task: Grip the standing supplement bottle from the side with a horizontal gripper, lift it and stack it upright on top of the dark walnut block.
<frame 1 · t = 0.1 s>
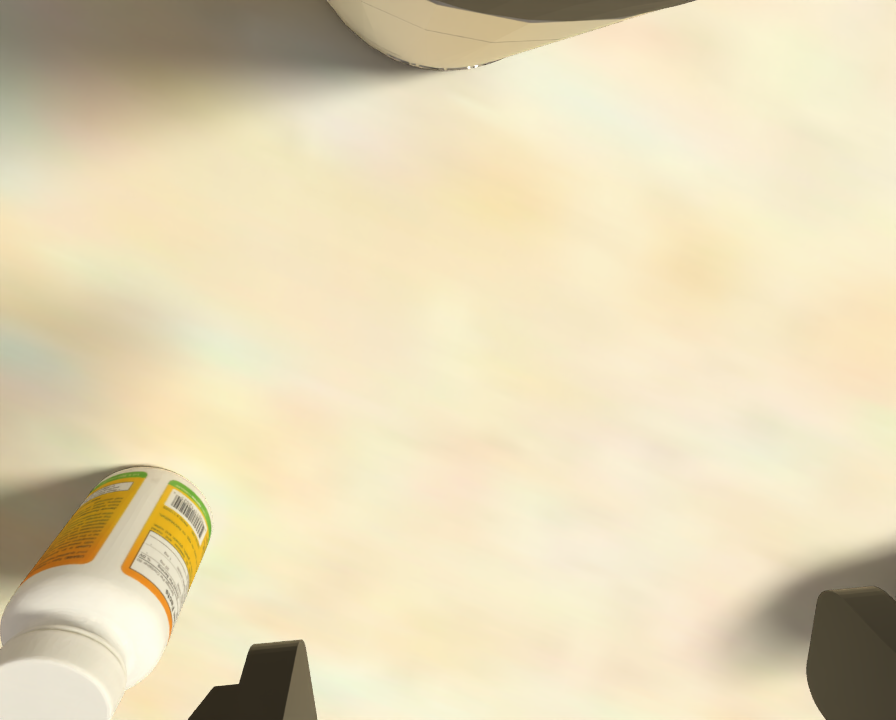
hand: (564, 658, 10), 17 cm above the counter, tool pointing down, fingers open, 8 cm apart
supplement bottle: (154, 512, 29), on the counter
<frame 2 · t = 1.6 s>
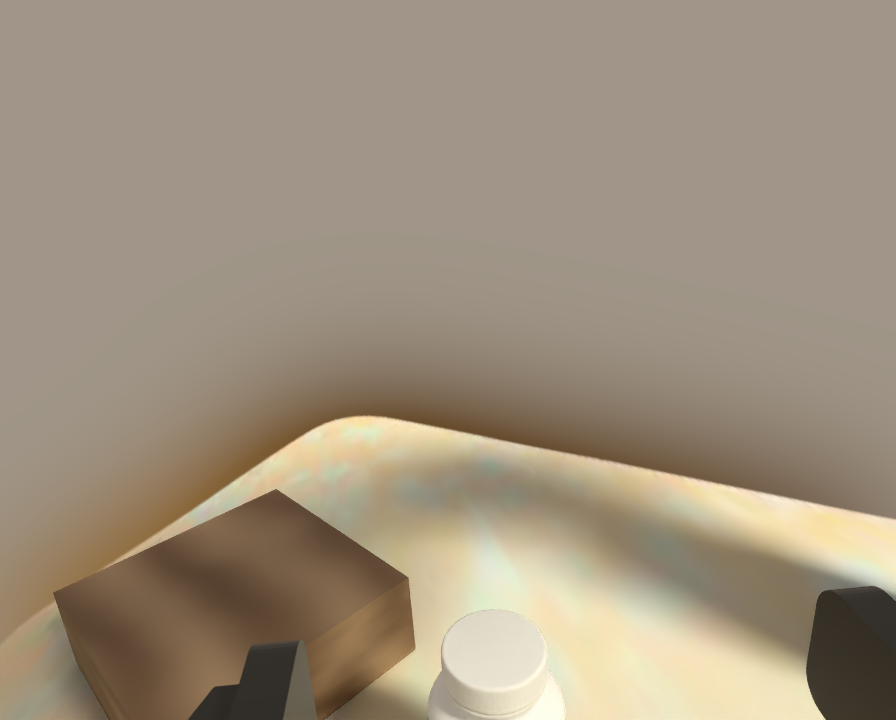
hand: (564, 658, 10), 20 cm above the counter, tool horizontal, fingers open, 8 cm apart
walnut block: (244, 655, 37), on the counter
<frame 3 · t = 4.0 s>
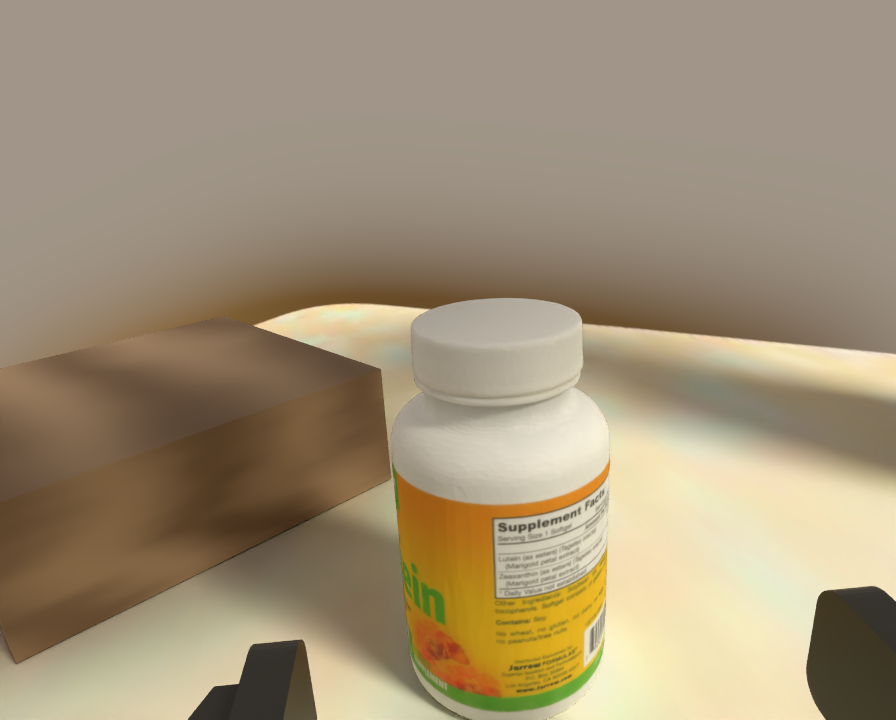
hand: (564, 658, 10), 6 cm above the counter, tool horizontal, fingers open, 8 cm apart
walnut block: (164, 487, 28), on the counter
supplement bottle: (505, 655, 18), on the counter
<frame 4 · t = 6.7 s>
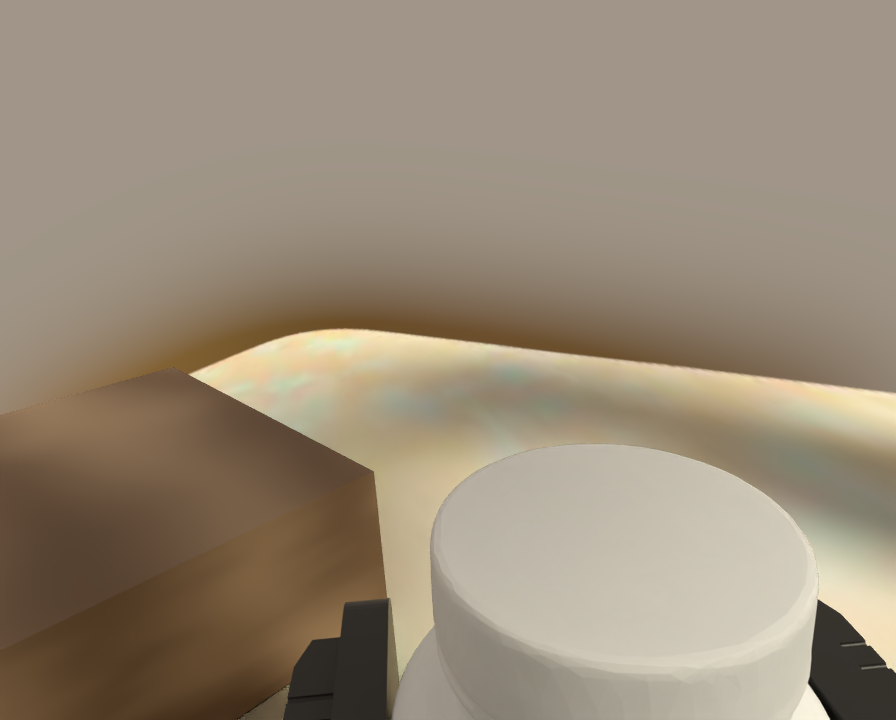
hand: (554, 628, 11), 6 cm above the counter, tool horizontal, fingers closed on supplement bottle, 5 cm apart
walnut block: (71, 626, 20), on the counter
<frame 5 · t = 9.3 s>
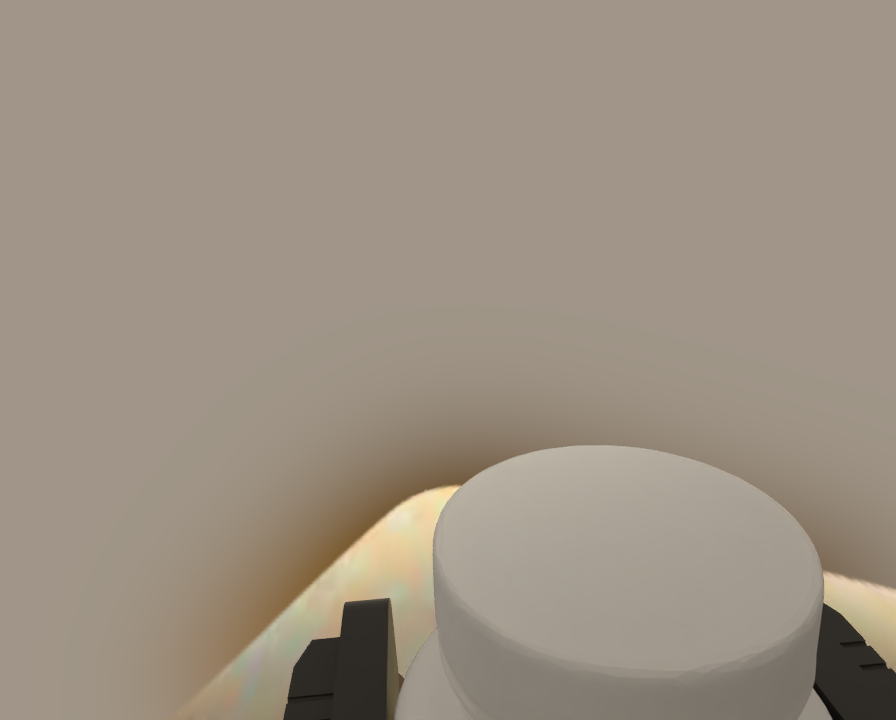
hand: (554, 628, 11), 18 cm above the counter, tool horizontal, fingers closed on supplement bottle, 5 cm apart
when the fingers open (12 cm above the counter, at t = 12.1 s): supplement bottle drops 1 cm, resting on walnut block.
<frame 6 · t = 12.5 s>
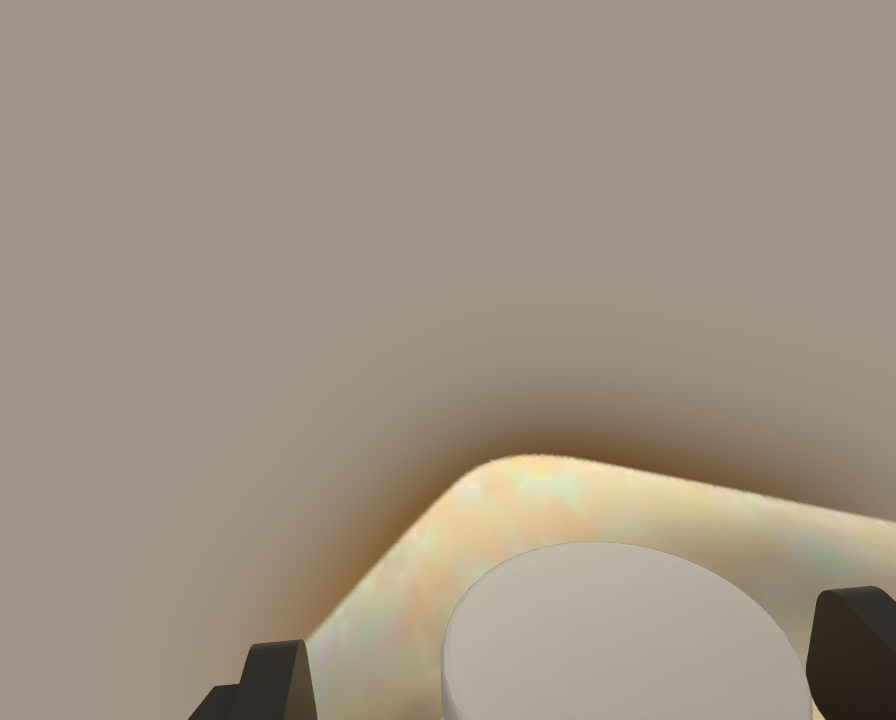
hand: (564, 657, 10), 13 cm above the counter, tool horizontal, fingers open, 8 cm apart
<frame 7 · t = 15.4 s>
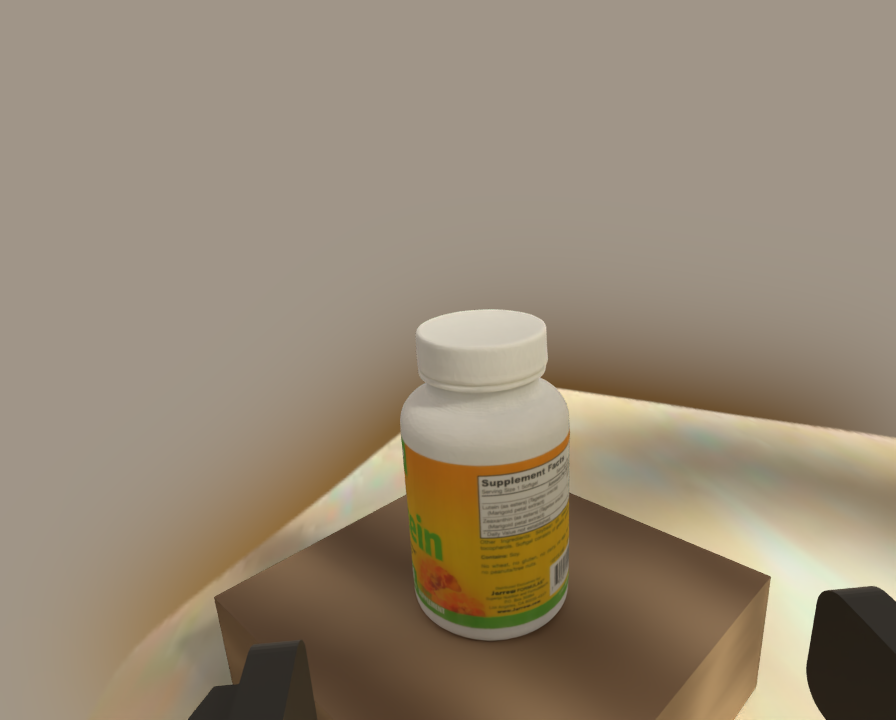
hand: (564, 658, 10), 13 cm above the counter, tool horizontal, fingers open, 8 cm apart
walnut block: (493, 695, 25), on the counter
supplement bottle: (491, 594, 23), point 5 cm above the counter, touching walnut block
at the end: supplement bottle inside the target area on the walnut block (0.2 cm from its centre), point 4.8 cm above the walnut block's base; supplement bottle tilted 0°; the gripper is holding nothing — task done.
